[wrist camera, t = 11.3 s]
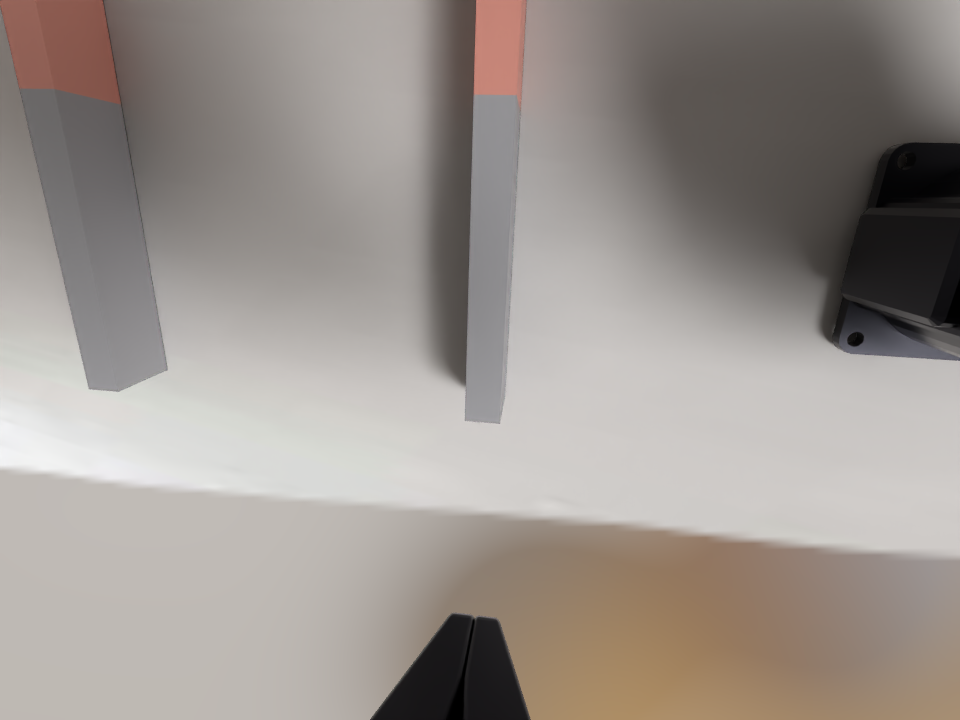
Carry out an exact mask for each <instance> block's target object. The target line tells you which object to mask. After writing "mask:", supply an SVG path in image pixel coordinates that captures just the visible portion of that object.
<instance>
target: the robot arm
mask: <svg viewBox="0 0 960 720" xmlns="http://www.w3.org/2000/svg"><path fill="white" fill-rule="evenodd" d="M902 154H904V155H905V156H906V158H907V159H906V164H905V166H904V167H903V168H902V169H899V168H898V166H897V160H898V158H899V156H900V155H902ZM841 293H842V294H843V299H842V303H841V307H840V310H839V314H838V318H837V321H836V325H835V329H834V333H833V343H834V345H835V346H836V347H837V348H838V349H840V350H842V351H844V352H847V353H851V354H864V355H880V356H895V357H911V358H927V359H942V360H958V361H960V144H957V143H906V144H900V145H895V146H893V147H891V148H889V149H888V150H887V151H886V152H885V153H884V154H883V155H882V157H881V159H880V162H879V165H878V169H877V173H876V176H875V180H874V184H873V188H872V191H871V195H870V199H869V202H868V206H867V210H866V212H864V213H863V214H862V215H861V217H860V220H859V224H858V227H857V231H856V235H855V239H854V242H853V246H852V250H851V254H850V257H849V261H848V265H847V269H846V272H845V276H844V280H843V284H842V287H841ZM853 332H856V333H857V337H856V339H855V340H854V341H853V342H851V343H847V338H848V337H849V335H850V334H852V333H853ZM370 720H531V719H530V716H529V713H528V710H527V707H526V704H525V701H524V697H523V694H522V691H521V688H520V685H519V681H518V678H517V675H516V672H515V669H514V665H513V662H512V659H511V656H510V653H509V650H508V646H507V644H506V640H505V637H504V634H503V631H502V627H501V624H500V622H499V620H498V619H497V618H494V617H486V616H477V617H476V618H475V619H474V617H473V616H472V615H470V614H461V613H452V614H450V615H449V616H448V618H447V619H446V620H445V622H444V623H443V624H442V626H441V627H440V628H439V630H438V631H437V632H436V634H435V635H434V636H433V637H432V639H431V640H430V641H429V643H428V644H427V646H426V647H425V648H424V649H423V651H422V652H421V653H420V655H419V656H418V657H417V659H416V660H415V661H414V662H413V664H412V665H411V667H410V668H409V669H408V670H407V672H406V673H405V674H404V676H403V677H402V678H401V680H400V681H399V683H398V684H397V685H396V686H395V687H394V689H393V690H392V691H391V693H390V694H389V695H388V697H387V698H386V699H385V701H384V702H383V703H382V705H381V706H380V707H379V709H378V710H377V711H376V712H375V714H374V715H373V716H372V718H371V719H370Z"/></svg>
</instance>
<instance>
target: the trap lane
mask: <svg viewBox="0 0 960 720" xmlns="http://www.w3.org/2000/svg"><path fill="white" fill-rule="evenodd" d="M526 1H527V0H476V30H475V66H474V103H473V140H472V177H471V213H470V250H469V287H468V324H467V360H466V397H465V421H473V422H485V423H497V424H500V420H501V414H502V409H503V404H504V399H505V387H506V369H507V350H508V332H509V313H510V295H511V277H512V258H513V240H514V222H515V203H516V185H517V166H518V148H519V130H520V111H521V93H522V75H523V56H524V38H525V19H526ZM0 6H1V11H2V15H3V19H4V24H5V28H6V32H7V37H8V41H9V45H10V50H11V54H12V58H13V63H14V67H15V71H16V76H17V80H18V84H19V89H20V93H21V97H22V102H23V106H24V110H25V115H26V119H27V123H28V127H29V132H30V136H31V140H32V145H33V149H34V153H35V158H36V162H37V166H38V171H39V175H40V179H41V184H42V188H43V192H44V197H45V201H46V205H47V210H48V214H49V218H50V223H51V227H52V231H53V236H54V240H55V244H56V249H57V253H58V257H59V262H60V266H61V270H62V275H63V279H64V283H65V288H66V292H67V296H68V301H69V305H70V309H71V314H72V318H73V322H74V327H75V331H76V335H77V340H78V344H79V348H80V353H81V357H82V361H83V366H84V370H85V374H86V379H87V383H88V387H89V389H93V390H104V391H116V392H119V391H121V390H123V389H125V388H128V387H130V386H132V385H134V384H137V383H139V382H141V381H143V380H146V379H148V378H150V377H152V376H155V375H157V374H159V373H161V372H164V371H166V370H167V365H166V359H165V353H164V347H163V342H162V336H161V330H160V325H159V319H158V313H157V307H156V302H155V296H154V290H153V285H152V279H151V273H150V267H149V262H148V256H147V250H146V245H145V239H144V233H143V227H142V222H141V216H140V210H139V205H138V199H137V193H136V187H135V182H134V176H133V170H132V165H131V159H130V153H129V147H128V142H127V136H126V130H125V125H124V119H123V113H122V107H121V102H120V96H119V90H118V85H117V79H116V73H115V67H114V62H113V56H112V50H111V45H110V39H109V33H108V27H107V22H106V16H105V10H104V5H103V0H0Z"/></svg>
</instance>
